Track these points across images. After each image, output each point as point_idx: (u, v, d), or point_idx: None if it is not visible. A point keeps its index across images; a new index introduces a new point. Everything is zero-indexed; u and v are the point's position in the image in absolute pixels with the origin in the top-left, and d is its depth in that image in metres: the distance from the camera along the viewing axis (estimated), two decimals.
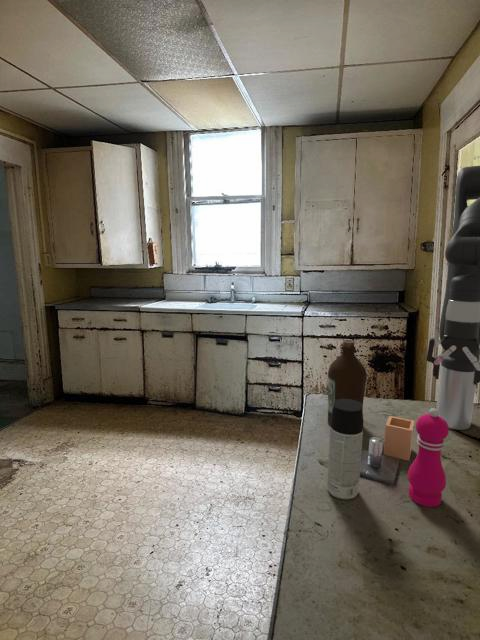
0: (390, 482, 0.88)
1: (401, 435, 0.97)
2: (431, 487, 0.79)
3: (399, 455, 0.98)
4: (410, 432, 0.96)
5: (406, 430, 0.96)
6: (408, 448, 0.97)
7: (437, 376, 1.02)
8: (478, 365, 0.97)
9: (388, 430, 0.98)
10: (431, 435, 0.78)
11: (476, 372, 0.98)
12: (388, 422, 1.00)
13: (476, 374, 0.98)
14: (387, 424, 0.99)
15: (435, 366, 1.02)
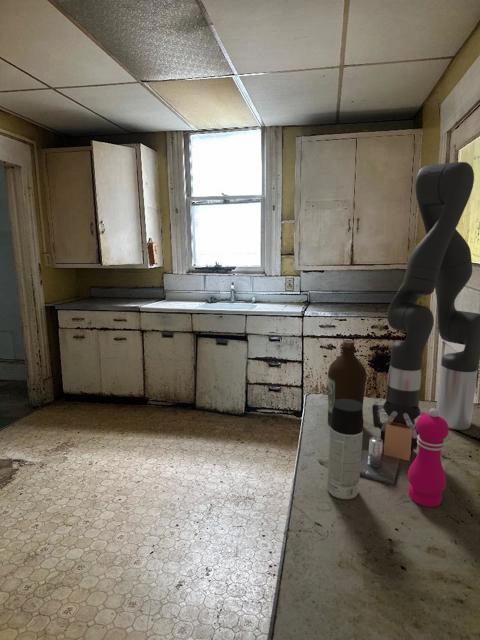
0: (390, 482, 0.88)
1: (401, 435, 0.97)
2: (431, 487, 0.79)
3: (399, 455, 0.98)
4: (410, 432, 0.96)
5: (406, 430, 0.96)
6: (408, 448, 0.97)
7: None
8: (415, 433, 0.97)
9: (388, 430, 0.98)
10: (431, 435, 0.78)
11: (412, 439, 0.98)
12: None
13: (412, 441, 0.98)
14: (387, 424, 0.98)
15: (382, 432, 1.01)
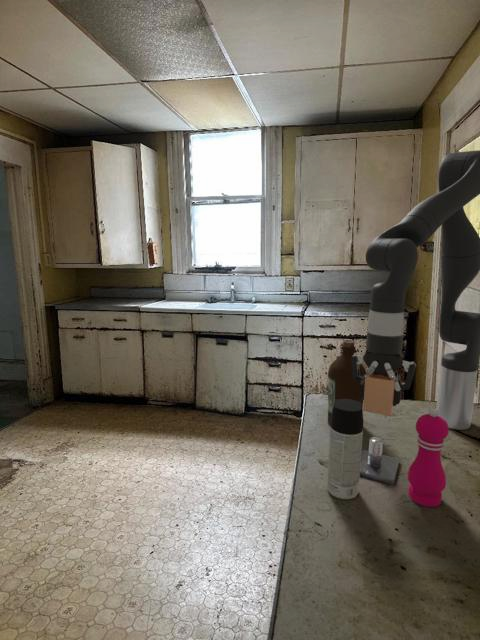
0: (390, 482, 0.88)
1: (382, 387, 0.87)
2: (431, 487, 0.79)
3: (380, 410, 0.88)
4: (391, 383, 0.86)
5: (387, 381, 0.86)
6: (390, 402, 0.87)
7: None
8: (397, 385, 0.87)
9: (368, 383, 0.88)
10: (431, 435, 0.78)
11: (395, 392, 0.88)
12: None
13: (395, 395, 0.88)
14: (367, 376, 0.89)
15: (362, 386, 0.91)
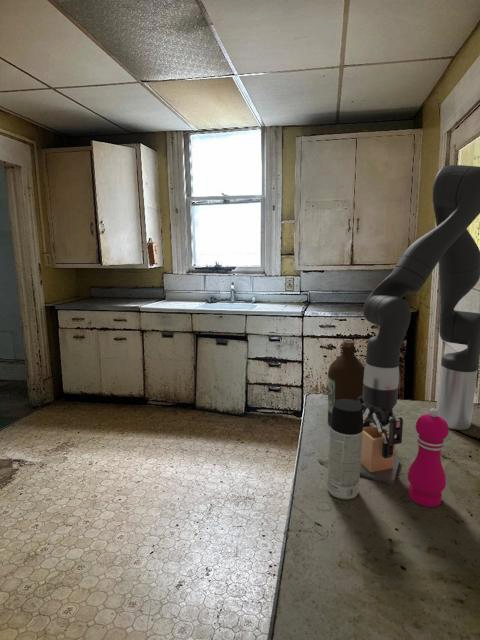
0: (390, 482, 0.88)
1: (366, 442, 0.91)
2: (431, 487, 0.79)
3: (365, 463, 0.92)
4: (371, 441, 0.89)
5: (369, 438, 0.90)
6: (370, 458, 0.90)
7: None
8: (384, 437, 0.88)
9: None
10: (431, 435, 0.78)
11: (383, 444, 0.88)
12: (365, 427, 0.95)
13: (383, 446, 0.88)
14: None
15: None
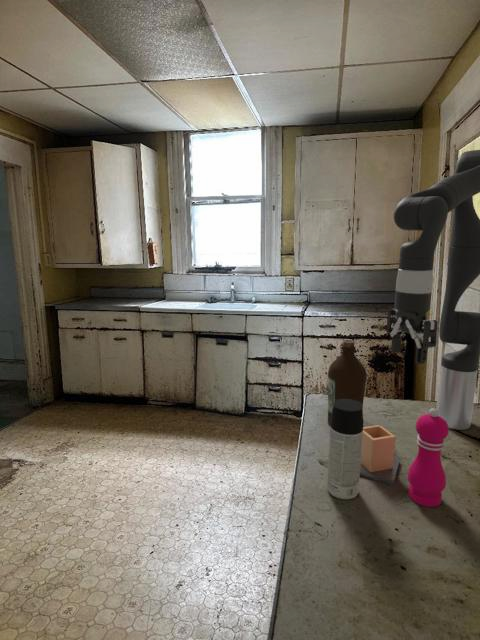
0: (390, 482, 0.88)
1: (366, 442, 0.91)
2: (431, 487, 0.79)
3: (365, 463, 0.92)
4: (371, 441, 0.89)
5: (369, 438, 0.90)
6: (370, 458, 0.90)
7: (392, 349, 0.97)
8: (418, 342, 0.88)
9: None
10: (431, 435, 0.78)
11: (417, 349, 0.88)
12: (365, 427, 0.95)
13: (417, 352, 0.88)
14: None
15: None
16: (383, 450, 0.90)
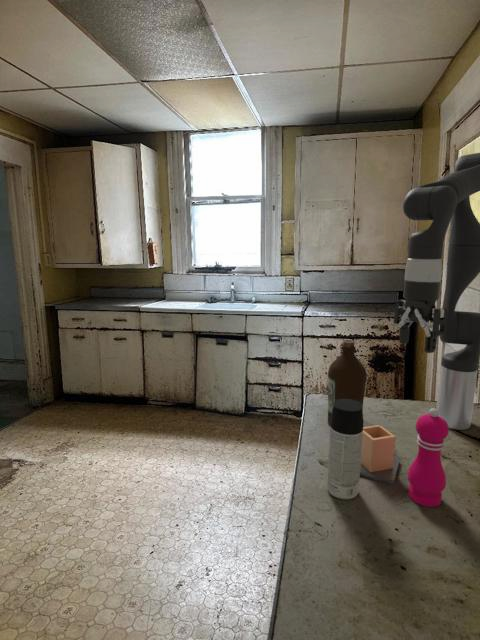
0: (390, 482, 0.88)
1: (366, 442, 0.91)
2: (431, 487, 0.79)
3: (365, 463, 0.92)
4: (371, 441, 0.89)
5: (369, 438, 0.90)
6: (370, 458, 0.90)
7: (400, 340, 0.97)
8: (427, 330, 0.88)
9: None
10: (431, 435, 0.78)
11: (426, 338, 0.88)
12: (365, 427, 0.95)
13: (426, 340, 0.89)
14: None
15: None
16: (383, 450, 0.90)
